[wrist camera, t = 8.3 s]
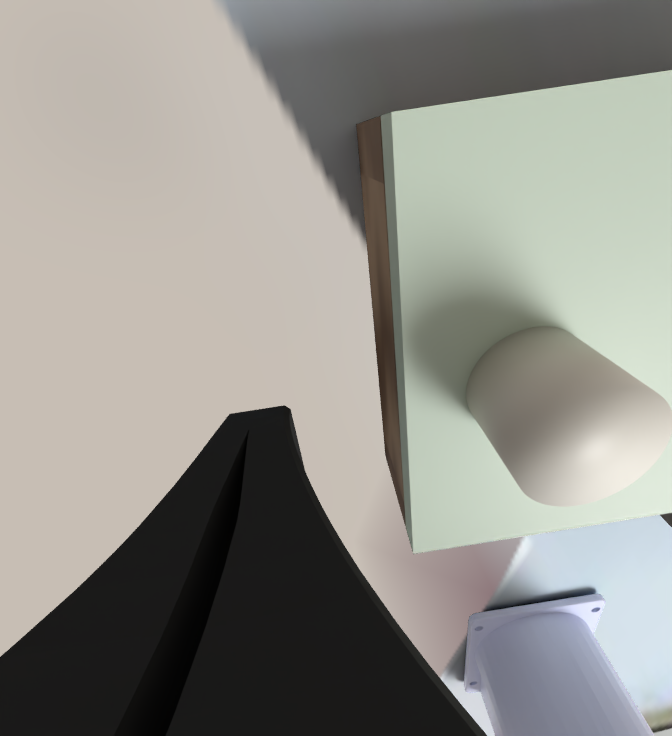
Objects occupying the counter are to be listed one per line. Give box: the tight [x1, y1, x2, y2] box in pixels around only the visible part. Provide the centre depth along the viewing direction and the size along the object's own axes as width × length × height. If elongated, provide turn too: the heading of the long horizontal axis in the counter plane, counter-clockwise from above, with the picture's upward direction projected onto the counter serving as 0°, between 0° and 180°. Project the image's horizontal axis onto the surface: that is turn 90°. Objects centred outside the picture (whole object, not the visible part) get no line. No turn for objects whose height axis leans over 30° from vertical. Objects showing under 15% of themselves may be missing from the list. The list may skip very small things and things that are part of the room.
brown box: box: [356, 116, 406, 525], centre depth 12 cm, size 12×16×4 cm
